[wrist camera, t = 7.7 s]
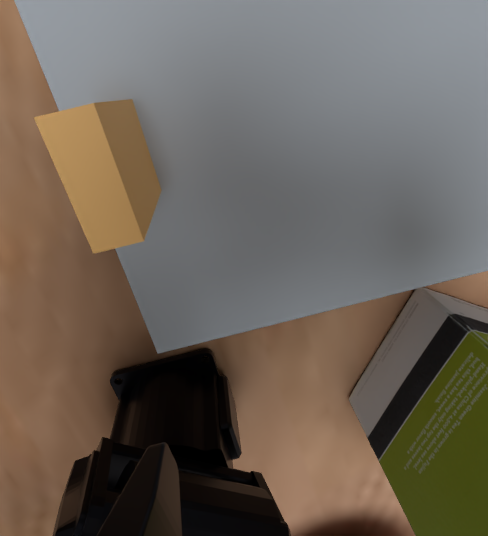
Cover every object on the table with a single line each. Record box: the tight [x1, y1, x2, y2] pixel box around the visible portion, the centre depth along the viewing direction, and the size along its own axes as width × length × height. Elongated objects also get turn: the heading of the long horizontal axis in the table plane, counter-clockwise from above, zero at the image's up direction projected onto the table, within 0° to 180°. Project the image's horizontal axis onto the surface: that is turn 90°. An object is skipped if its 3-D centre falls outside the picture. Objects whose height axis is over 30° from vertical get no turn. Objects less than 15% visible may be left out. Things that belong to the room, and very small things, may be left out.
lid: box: [14, 0, 488, 354], centre depth 11 cm, size 16×16×6 cm
